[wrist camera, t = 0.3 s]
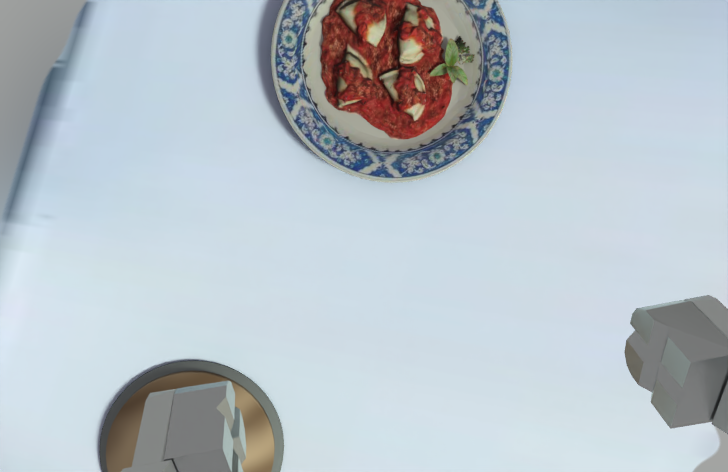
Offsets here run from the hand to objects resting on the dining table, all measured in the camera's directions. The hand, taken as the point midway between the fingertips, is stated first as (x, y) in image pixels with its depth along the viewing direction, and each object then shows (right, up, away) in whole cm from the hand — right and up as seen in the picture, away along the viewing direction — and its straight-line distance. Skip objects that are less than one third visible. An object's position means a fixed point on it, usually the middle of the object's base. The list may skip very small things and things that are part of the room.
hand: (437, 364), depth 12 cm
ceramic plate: (+1, +21, +52) cm, 57 cm away
